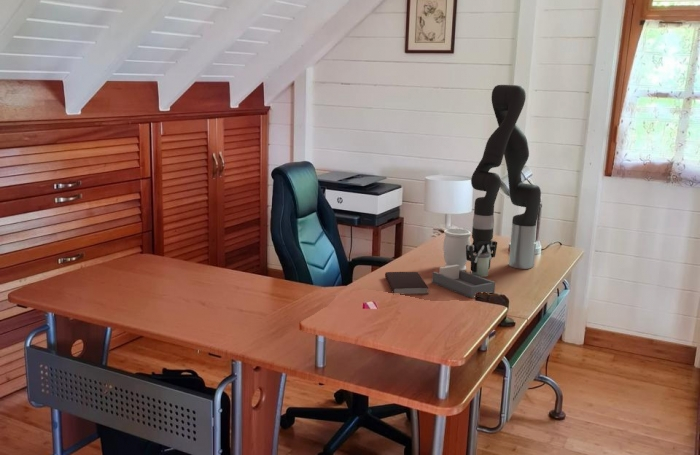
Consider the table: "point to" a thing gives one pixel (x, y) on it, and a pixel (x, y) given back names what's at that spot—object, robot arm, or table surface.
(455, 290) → the grey tray
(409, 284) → the book
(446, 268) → the block
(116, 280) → the table surface
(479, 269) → the small jar
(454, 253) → the jar
